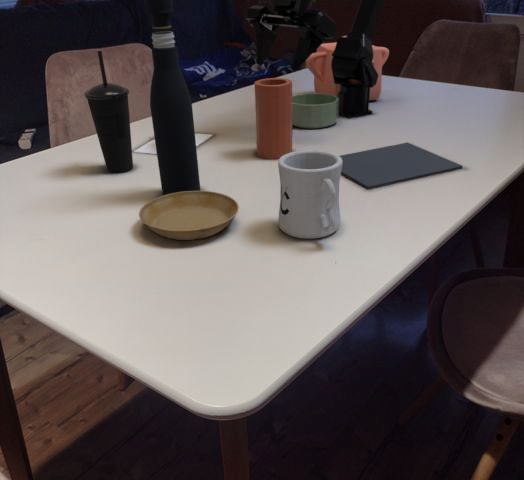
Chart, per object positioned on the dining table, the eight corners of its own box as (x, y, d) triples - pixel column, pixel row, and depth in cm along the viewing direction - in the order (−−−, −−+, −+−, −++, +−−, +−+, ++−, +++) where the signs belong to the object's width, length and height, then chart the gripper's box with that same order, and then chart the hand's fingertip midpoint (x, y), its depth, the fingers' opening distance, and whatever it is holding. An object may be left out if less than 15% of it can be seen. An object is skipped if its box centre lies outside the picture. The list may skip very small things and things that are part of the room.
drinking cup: (145, 161, 113) (127, 46, 101) (134, 175, 107) (114, 54, 95) (107, 161, 113) (85, 47, 102) (94, 175, 107) (69, 55, 96)
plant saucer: (259, 223, 88) (259, 207, 86) (182, 257, 80) (180, 239, 78) (197, 199, 97) (196, 183, 95) (122, 226, 88) (119, 210, 87)
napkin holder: (182, 156, 115) (179, 126, 111) (132, 151, 118) (127, 122, 115) (213, 134, 126) (211, 106, 123) (166, 131, 129) (163, 103, 126)
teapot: (295, 95, 152) (295, 35, 144) (372, 87, 157) (376, 28, 148) (324, 114, 136) (326, 48, 128) (408, 104, 141) (415, 39, 133)
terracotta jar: (282, 146, 118) (281, 76, 110) (298, 155, 113) (298, 83, 105) (251, 151, 116) (248, 80, 108) (266, 161, 111) (264, 87, 103)
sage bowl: (321, 113, 137) (322, 90, 134) (346, 124, 129) (348, 100, 126) (279, 120, 133) (279, 97, 130) (302, 132, 125) (303, 107, 122)
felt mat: (407, 144, 116) (407, 142, 116) (462, 168, 104) (462, 165, 104) (319, 162, 109) (319, 159, 109) (367, 189, 98) (368, 186, 97)
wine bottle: (194, 201, 96) (171, -13, 78) (157, 200, 97) (126, -13, 79) (205, 187, 101) (185, -18, 83) (169, 186, 102) (143, -17, 84)
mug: (269, 221, 88) (267, 154, 83) (323, 210, 91) (325, 145, 85) (302, 255, 79) (302, 183, 73) (361, 243, 81) (367, 172, 76)
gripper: (240, -42, 109) (215, 45, 113) (317, -41, 98) (286, 55, 102) (276, -12, 118) (252, 68, 121) (350, -8, 107) (321, 79, 111)
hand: (275, 67), depth 114 cm, fingers open, 9 cm apart
